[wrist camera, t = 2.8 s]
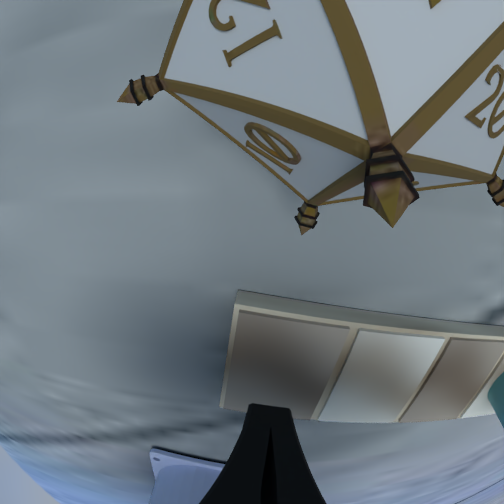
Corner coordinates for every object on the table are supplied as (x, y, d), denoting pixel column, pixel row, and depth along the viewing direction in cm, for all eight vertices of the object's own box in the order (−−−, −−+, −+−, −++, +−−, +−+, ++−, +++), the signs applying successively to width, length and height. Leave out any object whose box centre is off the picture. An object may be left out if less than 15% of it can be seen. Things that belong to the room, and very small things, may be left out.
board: (495, 401, 14) (501, 413, 13) (222, 392, 14) (218, 410, 13) (542, 329, 12) (552, 340, 11) (238, 289, 12) (233, 306, 11)
